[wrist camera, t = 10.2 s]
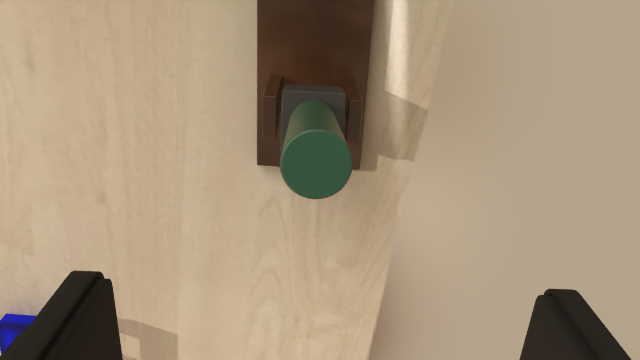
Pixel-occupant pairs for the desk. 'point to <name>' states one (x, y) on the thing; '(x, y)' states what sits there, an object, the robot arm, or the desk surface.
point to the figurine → (12, 328)
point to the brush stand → (311, 62)
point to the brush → (314, 140)
